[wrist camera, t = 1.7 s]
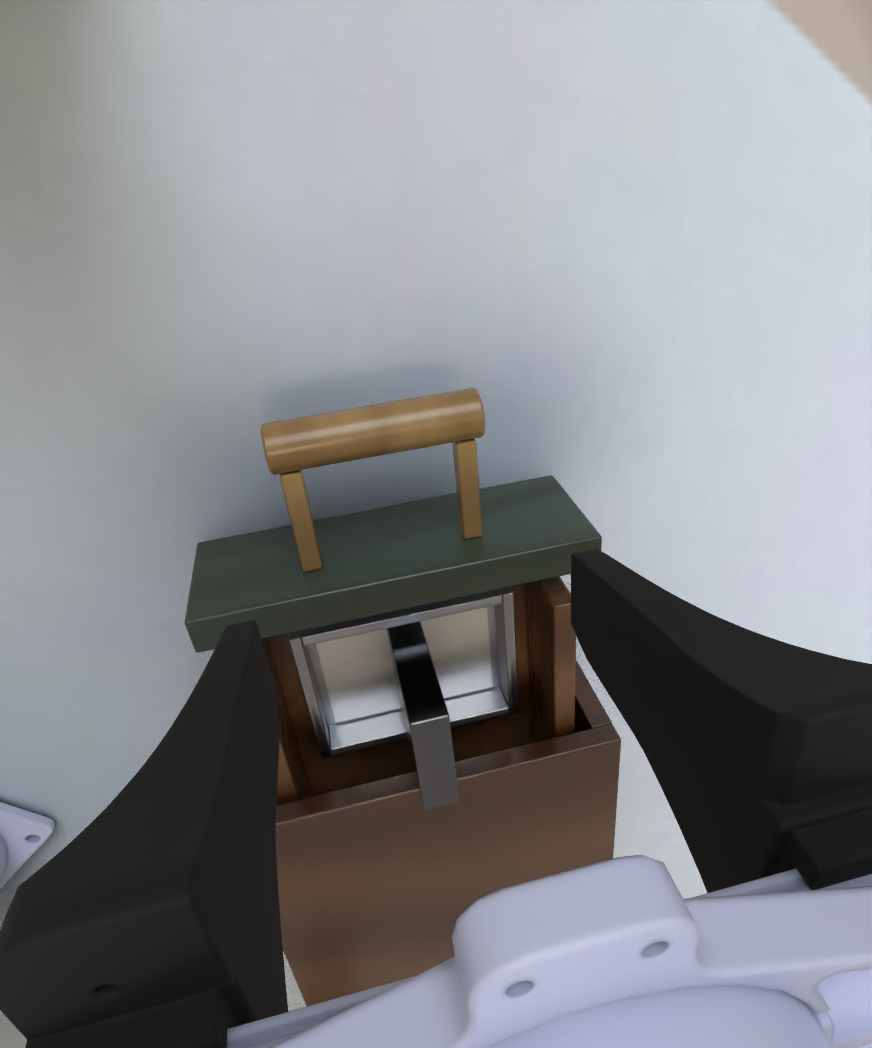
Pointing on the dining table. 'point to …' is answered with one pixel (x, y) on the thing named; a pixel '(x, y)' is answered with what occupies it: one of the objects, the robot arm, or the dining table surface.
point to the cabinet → (436, 853)
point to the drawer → (398, 576)
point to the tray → (411, 680)
